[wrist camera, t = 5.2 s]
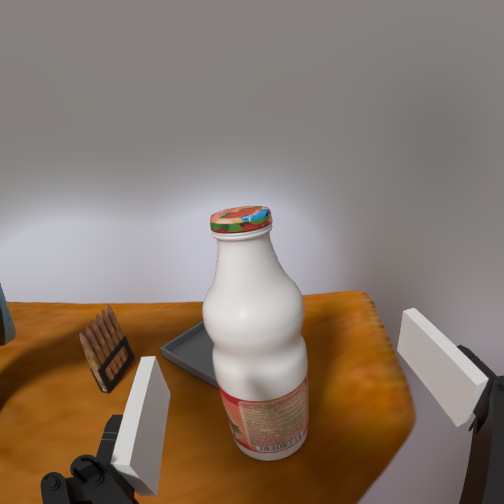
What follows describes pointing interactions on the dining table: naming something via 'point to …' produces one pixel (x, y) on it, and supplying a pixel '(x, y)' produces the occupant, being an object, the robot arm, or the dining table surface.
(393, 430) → the dining table surface
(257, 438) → the white milk bottle
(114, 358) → the ammunition clip
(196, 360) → the tray
